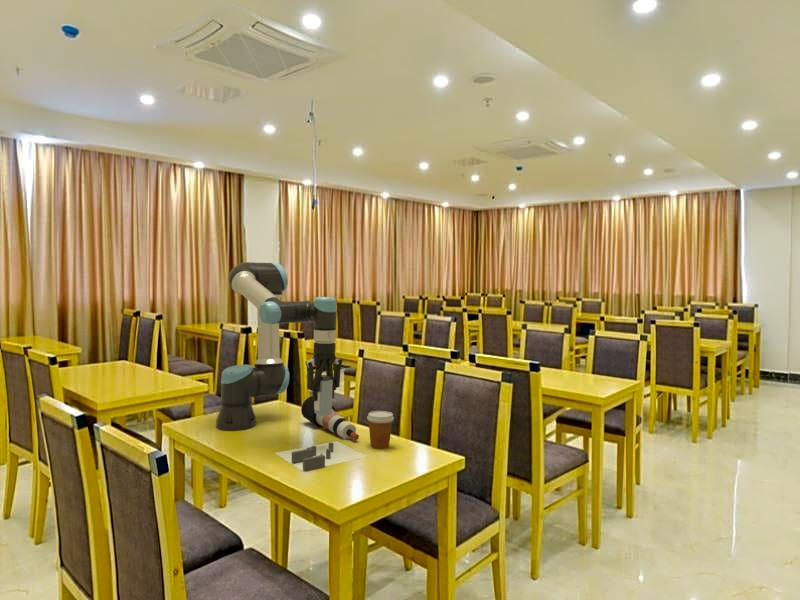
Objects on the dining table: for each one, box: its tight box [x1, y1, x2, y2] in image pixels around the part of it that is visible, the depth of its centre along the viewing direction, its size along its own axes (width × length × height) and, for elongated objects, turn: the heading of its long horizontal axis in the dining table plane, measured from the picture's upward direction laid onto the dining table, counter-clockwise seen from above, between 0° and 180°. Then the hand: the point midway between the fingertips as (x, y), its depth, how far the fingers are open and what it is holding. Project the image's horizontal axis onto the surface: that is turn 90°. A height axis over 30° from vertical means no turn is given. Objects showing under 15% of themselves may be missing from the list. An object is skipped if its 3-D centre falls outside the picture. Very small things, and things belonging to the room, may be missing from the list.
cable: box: [300, 395, 360, 441], centre depth 209 cm, size 10×34×10 cm, turn 37°
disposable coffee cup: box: [366, 410, 395, 450], centre depth 192 cm, size 10×10×12 cm
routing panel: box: [274, 440, 368, 472], centre depth 181 cm, size 20×24×4 cm
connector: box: [314, 374, 333, 416], centre depth 188 cm, size 5×4×13 cm
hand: (323, 408), depth 188 cm, fingers closed on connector, 4 cm apart
